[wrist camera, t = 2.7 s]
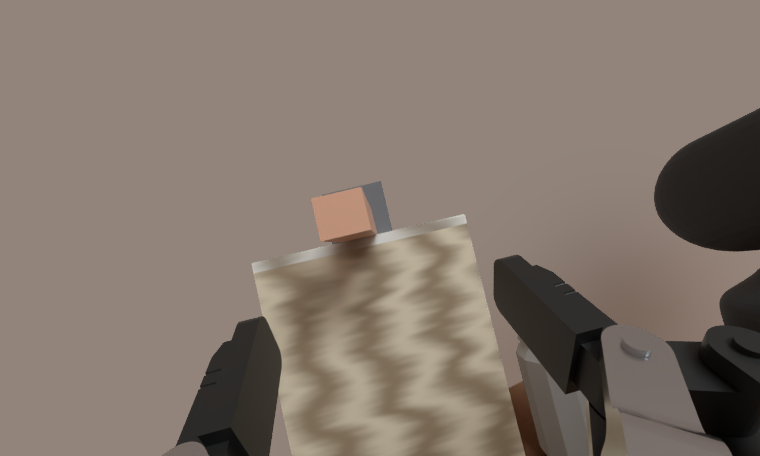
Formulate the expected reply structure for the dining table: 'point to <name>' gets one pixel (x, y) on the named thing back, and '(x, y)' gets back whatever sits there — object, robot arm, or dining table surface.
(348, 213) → the salmon and grey blocks
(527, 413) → the dining table surface
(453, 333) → the beige zigzag box
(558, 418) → the jar
